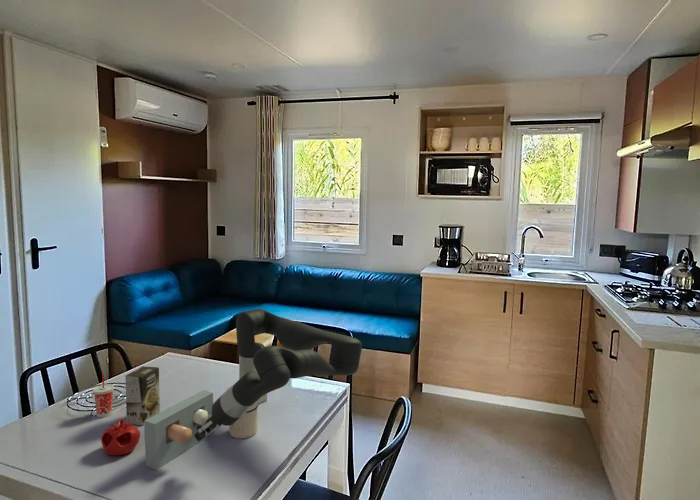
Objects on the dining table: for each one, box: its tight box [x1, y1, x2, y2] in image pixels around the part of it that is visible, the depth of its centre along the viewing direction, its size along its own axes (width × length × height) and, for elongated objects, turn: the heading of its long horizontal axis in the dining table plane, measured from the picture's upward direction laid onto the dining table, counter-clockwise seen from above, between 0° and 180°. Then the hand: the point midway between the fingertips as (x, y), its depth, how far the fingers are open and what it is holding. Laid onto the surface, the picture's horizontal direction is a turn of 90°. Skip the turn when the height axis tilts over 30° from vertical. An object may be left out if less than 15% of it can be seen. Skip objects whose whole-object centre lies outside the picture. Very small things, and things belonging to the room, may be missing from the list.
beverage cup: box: [92, 373, 115, 418], centre depth 150 cm, size 6×6×14 cm
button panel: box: [143, 389, 215, 471], centre depth 131 cm, size 4×22×13 cm, turn 155°
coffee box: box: [125, 365, 161, 426], centre depth 148 cm, size 9×6×16 cm
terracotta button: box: [166, 423, 192, 444], centre depth 125 cm, size 7×4×4 cm, turn 65°
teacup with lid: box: [228, 401, 259, 439], centre depth 141 cm, size 12×9×12 cm
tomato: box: [100, 418, 141, 456], centre depth 130 cm, size 10×10×9 cm
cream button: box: [193, 409, 208, 424], centre depth 135 cm, size 7×4×4 cm, turn 65°
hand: (197, 437), depth 123 cm, fingers closed
